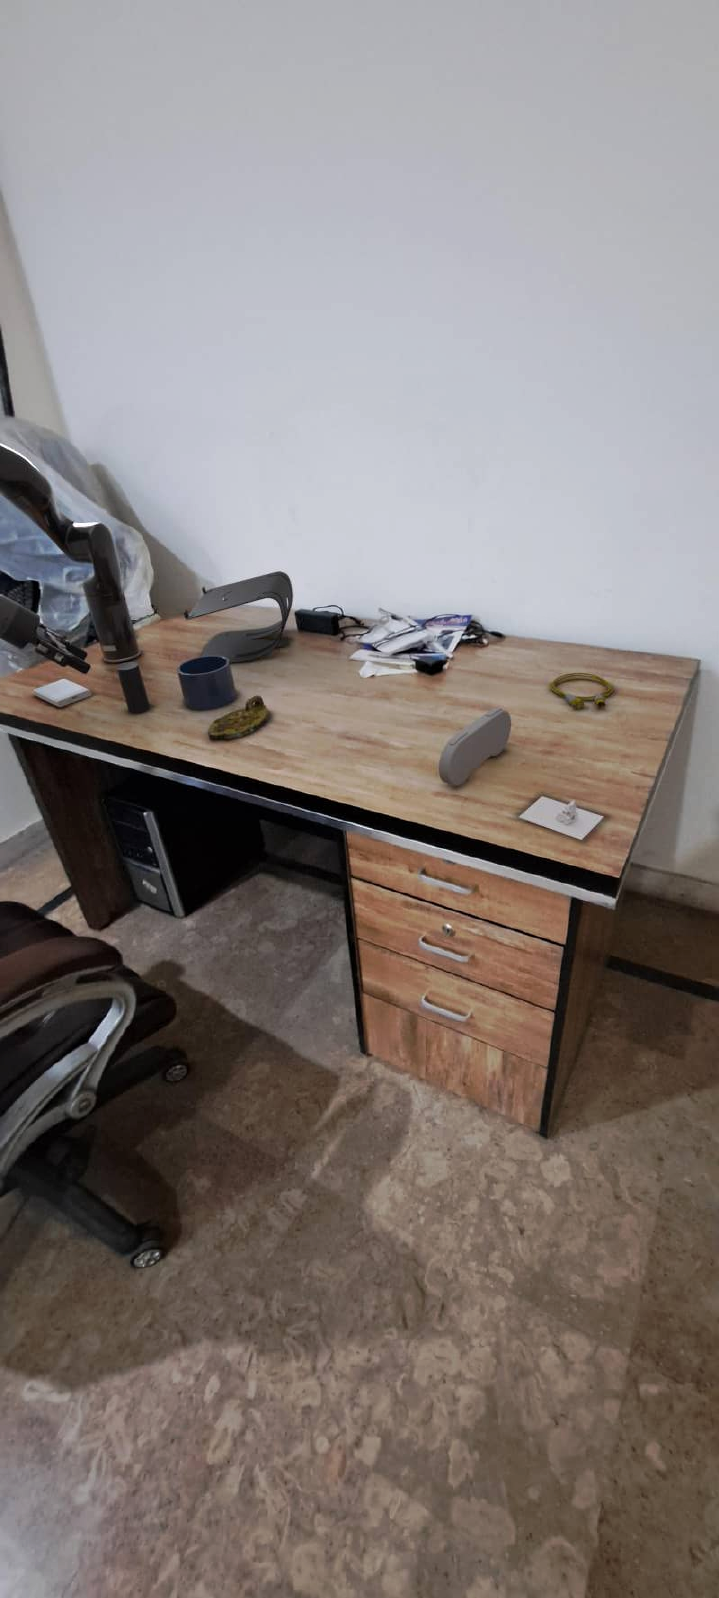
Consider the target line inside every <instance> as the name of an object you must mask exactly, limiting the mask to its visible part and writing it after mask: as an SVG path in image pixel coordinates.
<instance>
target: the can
mask: <svg viewBox="0 0 719 1598" xmlns="http://www.w3.org/2000/svg"><path fill="white" fill-rule="evenodd" d="M176 673H177V677H178V682H179V685H180V686H179V687H180V689H181V693H182V698H183V701H184V705H185V707H187V708H188V709H191V710H195V711H208V710H214V709H218V708H221V707H225V706H227V705H229V704H230V703H232V702H233V701H235V700H236V698H237V690H236V686H235V681H234V675H233V671H232V666H231V663H230V660H229V659H228V658H226V657H224V656H218V655H210V656H203V655H202V656H197V657H193V658H191V659H187V660H185V661H183V662H181V663H180V664H179V665H178V666H177V668H176Z"/></svg>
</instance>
